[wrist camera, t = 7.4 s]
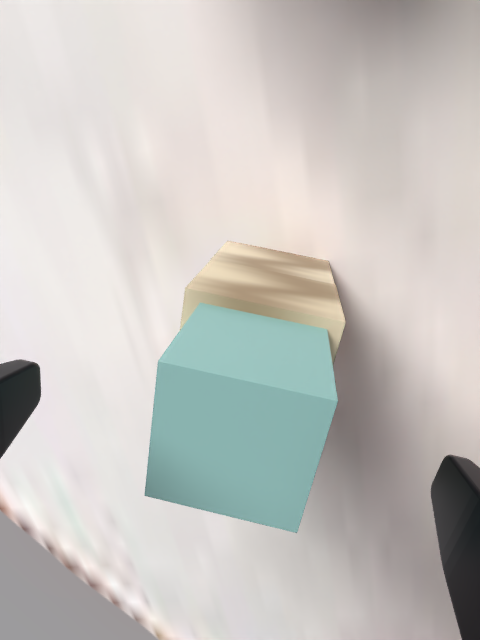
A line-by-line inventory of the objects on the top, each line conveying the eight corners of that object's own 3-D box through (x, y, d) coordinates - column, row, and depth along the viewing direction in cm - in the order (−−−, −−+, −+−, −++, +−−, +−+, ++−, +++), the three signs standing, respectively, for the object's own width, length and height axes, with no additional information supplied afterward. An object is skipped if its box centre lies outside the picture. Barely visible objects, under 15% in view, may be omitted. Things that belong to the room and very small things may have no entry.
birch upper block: (335, 284, 16) (345, 321, 12) (305, 391, 18) (306, 451, 14) (211, 258, 16) (185, 287, 13) (195, 366, 18) (168, 419, 14)
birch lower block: (328, 260, 20) (334, 284, 16) (304, 351, 21) (305, 391, 18) (227, 240, 20) (210, 259, 16) (213, 331, 22) (195, 366, 18)
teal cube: (327, 329, 12) (337, 401, 9) (297, 433, 14) (297, 533, 10) (199, 302, 13) (157, 361, 9) (185, 408, 14) (144, 495, 10)
